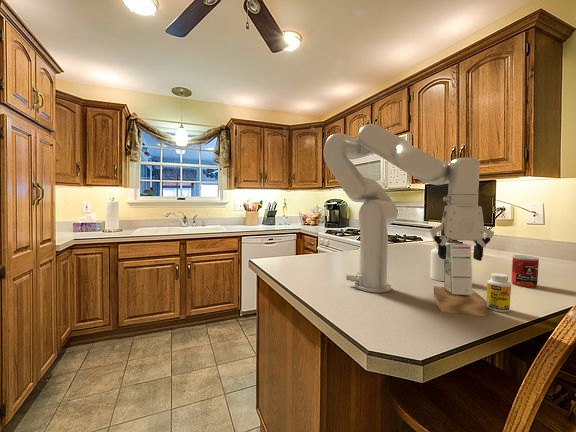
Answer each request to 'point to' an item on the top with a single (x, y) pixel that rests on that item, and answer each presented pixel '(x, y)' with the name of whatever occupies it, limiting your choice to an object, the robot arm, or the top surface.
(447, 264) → the syrup box
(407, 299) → the top surface
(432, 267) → the pill bottle
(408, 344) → the top surface
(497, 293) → the supplement bottle
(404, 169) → the robot arm
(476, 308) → the oak block
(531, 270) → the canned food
